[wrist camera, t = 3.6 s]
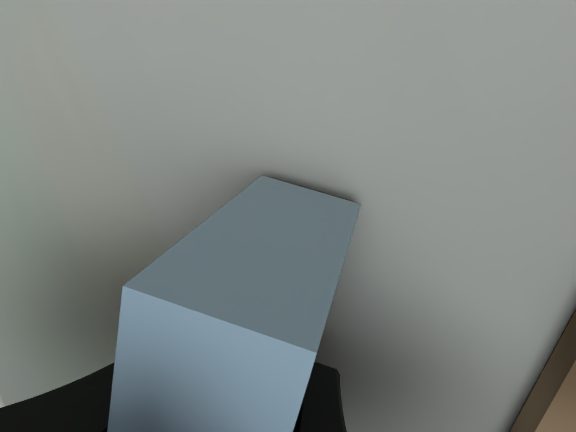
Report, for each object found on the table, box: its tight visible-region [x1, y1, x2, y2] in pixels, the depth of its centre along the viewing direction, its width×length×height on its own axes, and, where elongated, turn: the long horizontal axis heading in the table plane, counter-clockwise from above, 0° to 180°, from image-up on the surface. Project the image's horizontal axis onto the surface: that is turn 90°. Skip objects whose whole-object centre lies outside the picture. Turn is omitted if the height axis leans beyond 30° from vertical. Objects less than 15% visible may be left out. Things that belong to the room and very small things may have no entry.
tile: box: [107, 175, 361, 432], centre depth 10 cm, size 9×2×6 cm, turn 167°
